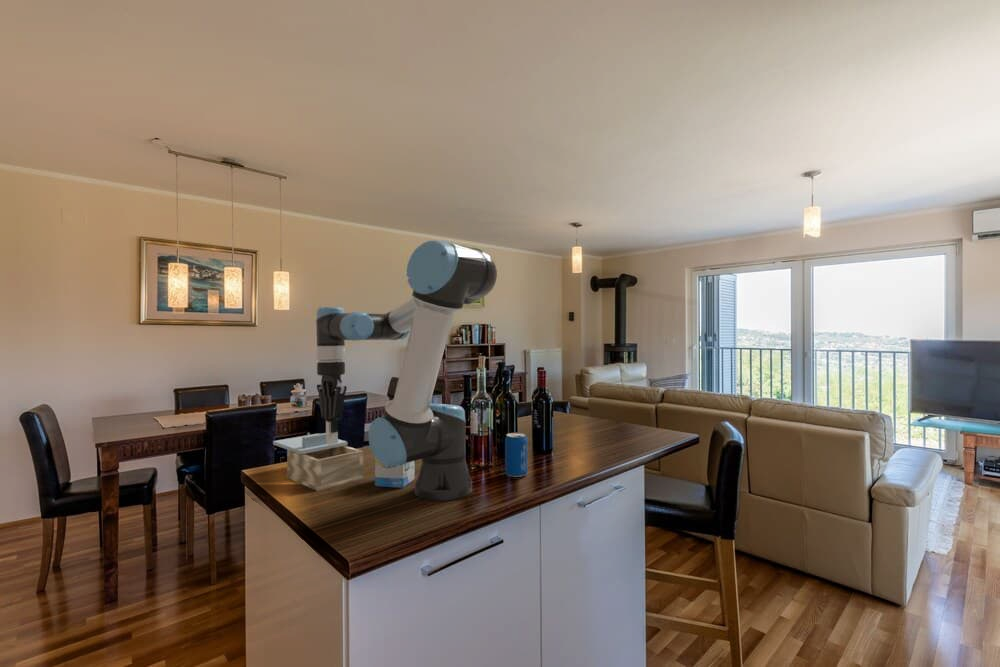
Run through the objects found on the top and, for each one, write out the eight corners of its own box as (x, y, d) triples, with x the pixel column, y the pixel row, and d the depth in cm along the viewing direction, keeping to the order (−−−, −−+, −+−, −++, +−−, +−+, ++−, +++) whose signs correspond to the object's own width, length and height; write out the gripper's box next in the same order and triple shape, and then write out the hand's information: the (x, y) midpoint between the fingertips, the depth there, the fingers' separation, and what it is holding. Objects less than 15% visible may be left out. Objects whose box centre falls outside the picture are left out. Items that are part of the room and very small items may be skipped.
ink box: (403, 488, 124) (403, 445, 124) (374, 486, 125) (374, 444, 125) (415, 478, 132) (415, 438, 132) (388, 477, 134) (387, 437, 134)
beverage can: (515, 480, 130) (515, 438, 130) (500, 475, 135) (500, 434, 135) (531, 475, 134) (531, 434, 134) (516, 470, 139) (516, 431, 139)
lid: (347, 445, 139) (347, 431, 139) (300, 454, 128) (300, 440, 128) (318, 436, 151) (318, 424, 151) (273, 444, 140) (273, 431, 140)
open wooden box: (363, 478, 132) (363, 450, 132) (316, 490, 122) (316, 461, 122) (332, 467, 144) (332, 441, 144) (287, 477, 134) (287, 450, 134)
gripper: (355, 361, 129) (355, 444, 129) (331, 360, 138) (332, 438, 138) (330, 362, 124) (331, 449, 123) (307, 361, 132) (308, 442, 132)
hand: (331, 443), depth 131 cm, fingers closed
